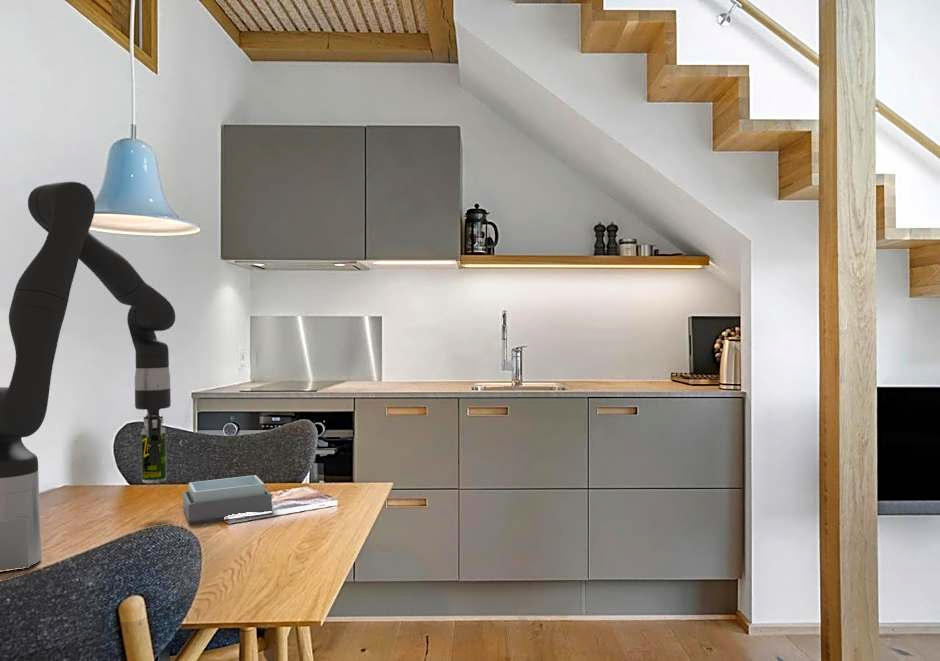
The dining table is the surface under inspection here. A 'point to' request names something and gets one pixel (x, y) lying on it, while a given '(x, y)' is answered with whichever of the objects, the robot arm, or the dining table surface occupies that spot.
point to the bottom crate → (224, 507)
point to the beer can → (153, 471)
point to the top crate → (225, 489)
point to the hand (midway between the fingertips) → (153, 461)
